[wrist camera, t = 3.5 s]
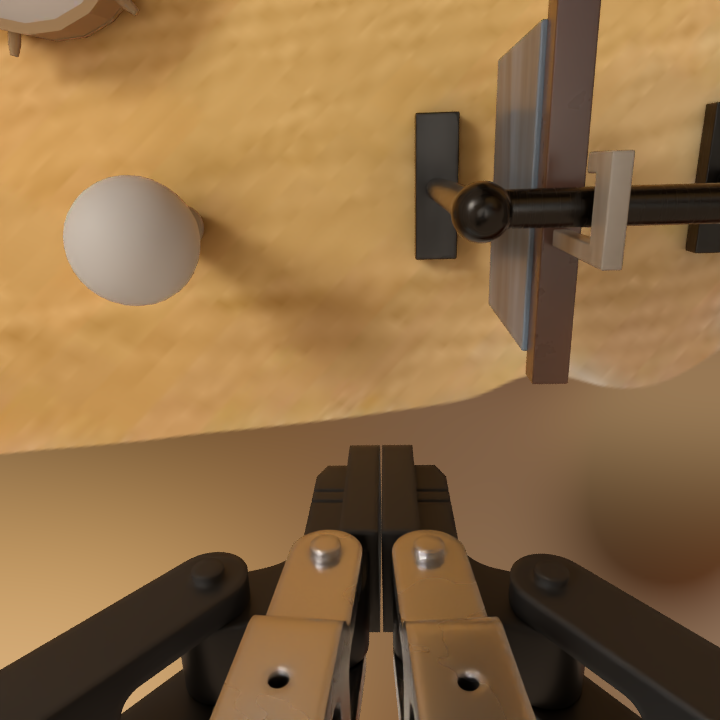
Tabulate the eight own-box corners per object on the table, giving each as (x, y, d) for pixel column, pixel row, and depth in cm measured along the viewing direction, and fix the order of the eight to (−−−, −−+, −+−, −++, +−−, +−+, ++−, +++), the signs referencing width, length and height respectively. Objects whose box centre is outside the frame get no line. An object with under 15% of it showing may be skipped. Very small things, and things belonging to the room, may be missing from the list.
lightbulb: (119, 199, 35) (6, 215, 25) (206, 154, 34) (127, 151, 24) (170, 290, 37) (85, 341, 27) (255, 250, 36) (201, 286, 26)
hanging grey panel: (487, 322, 32) (563, 444, 18) (498, 36, 28) (611, -92, 14) (520, 321, 32) (623, 443, 18) (537, 34, 28) (689, -96, 14)
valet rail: (414, 256, 36) (441, 350, 18) (414, 114, 33) (445, 59, 15) (726, 249, 35) (1083, 340, 17) (751, 102, 32) (1201, 28, 14)
